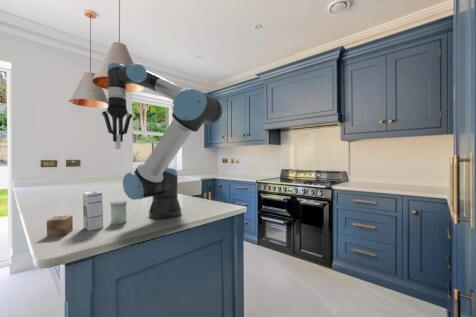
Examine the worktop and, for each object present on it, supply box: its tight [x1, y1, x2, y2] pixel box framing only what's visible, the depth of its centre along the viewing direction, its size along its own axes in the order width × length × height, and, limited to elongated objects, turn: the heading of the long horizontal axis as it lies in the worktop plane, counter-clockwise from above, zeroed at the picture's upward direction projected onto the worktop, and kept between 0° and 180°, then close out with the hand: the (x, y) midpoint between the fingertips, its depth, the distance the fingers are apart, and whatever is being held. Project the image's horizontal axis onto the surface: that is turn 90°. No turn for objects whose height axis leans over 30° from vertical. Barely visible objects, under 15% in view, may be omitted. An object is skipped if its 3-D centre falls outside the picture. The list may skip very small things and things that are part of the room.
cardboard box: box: [46, 215, 74, 238], centre depth 87 cm, size 6×6×6 cm
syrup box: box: [82, 190, 104, 231], centre depth 94 cm, size 6×6×14 cm
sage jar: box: [109, 200, 128, 225], centre depth 101 cm, size 6×6×9 cm
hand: (118, 148), depth 108 cm, fingers closed
